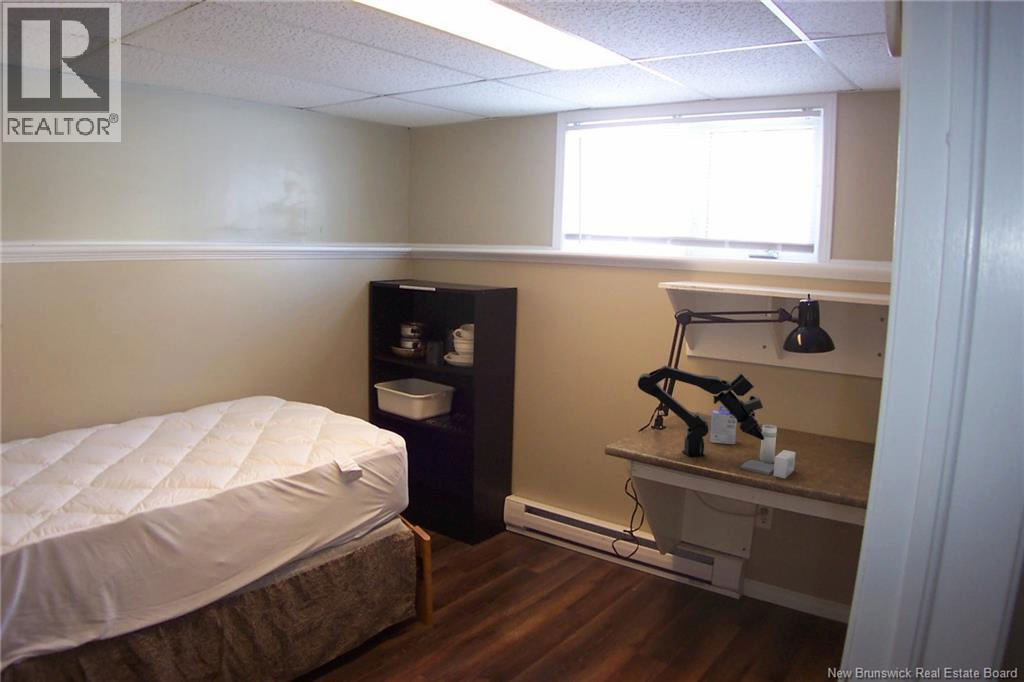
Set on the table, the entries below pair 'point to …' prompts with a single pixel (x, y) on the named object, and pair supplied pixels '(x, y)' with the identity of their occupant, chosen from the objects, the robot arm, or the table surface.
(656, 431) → the table surface
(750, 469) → the dock mat
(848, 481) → the table surface
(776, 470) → the block
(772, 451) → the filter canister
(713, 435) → the ink cartridge box
